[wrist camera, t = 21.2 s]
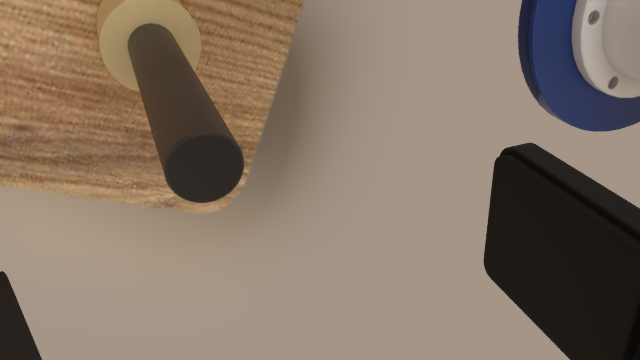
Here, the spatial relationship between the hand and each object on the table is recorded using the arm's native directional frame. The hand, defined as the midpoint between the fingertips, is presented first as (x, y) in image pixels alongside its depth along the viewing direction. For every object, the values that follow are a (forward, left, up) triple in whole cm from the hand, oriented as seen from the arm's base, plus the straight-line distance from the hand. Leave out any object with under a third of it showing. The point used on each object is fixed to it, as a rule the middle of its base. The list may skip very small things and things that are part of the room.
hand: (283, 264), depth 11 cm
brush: (+1, 0, -20) cm, 20 cm away
